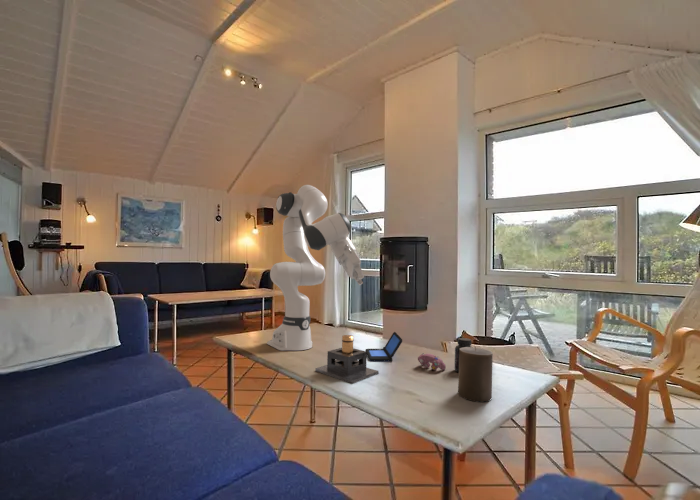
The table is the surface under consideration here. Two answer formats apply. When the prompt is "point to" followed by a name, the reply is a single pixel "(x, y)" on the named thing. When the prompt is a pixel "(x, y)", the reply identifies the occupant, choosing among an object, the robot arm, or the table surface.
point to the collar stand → (347, 366)
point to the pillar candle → (475, 374)
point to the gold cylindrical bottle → (347, 345)
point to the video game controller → (431, 361)
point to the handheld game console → (385, 349)
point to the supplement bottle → (461, 343)
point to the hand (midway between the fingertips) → (361, 281)
